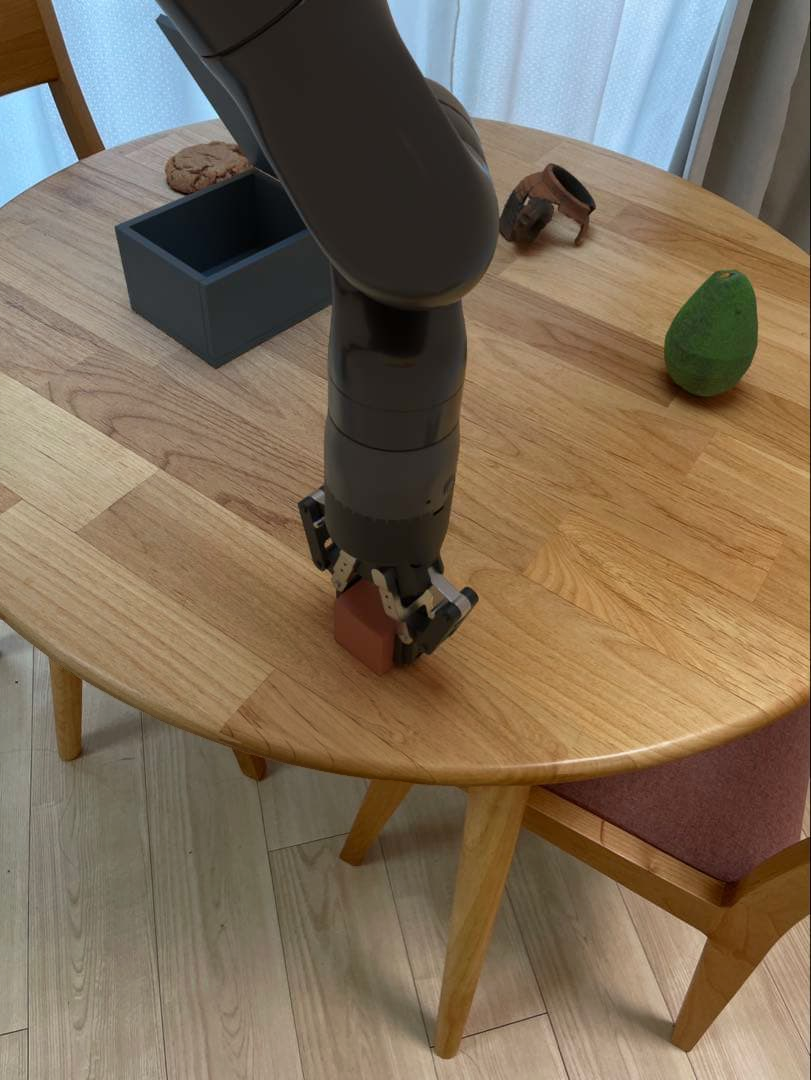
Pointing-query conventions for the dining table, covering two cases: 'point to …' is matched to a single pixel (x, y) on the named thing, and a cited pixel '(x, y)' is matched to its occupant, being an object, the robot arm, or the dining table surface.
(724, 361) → the avocado
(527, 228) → the pottery mug
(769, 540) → the dining table surface
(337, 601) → the block
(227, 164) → the cookie
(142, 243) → the chest
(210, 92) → the lid
